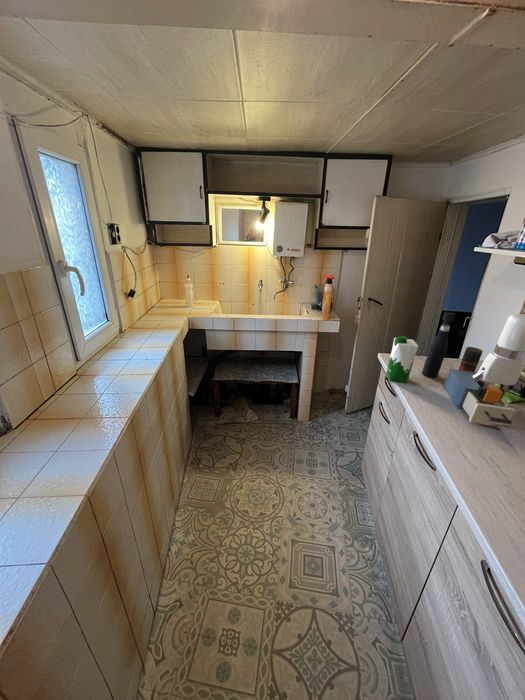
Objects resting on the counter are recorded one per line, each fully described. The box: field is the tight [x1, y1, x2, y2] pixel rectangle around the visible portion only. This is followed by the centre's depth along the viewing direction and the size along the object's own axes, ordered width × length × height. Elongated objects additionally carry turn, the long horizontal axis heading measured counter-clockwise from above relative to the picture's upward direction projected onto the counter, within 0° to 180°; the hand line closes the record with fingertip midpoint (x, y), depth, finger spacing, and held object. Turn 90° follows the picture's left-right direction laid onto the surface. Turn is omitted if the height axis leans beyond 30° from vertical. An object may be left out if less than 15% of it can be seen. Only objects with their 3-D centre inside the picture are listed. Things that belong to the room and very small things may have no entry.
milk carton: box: [385, 334, 420, 384], centre depth 122 cm, size 9×9×20 cm
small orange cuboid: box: [482, 385, 503, 403], centre depth 99 cm, size 4×4×4 cm
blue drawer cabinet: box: [443, 368, 497, 410], centre depth 111 cm, size 16×13×9 cm
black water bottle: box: [421, 311, 456, 379], centre depth 124 cm, size 6×6×30 cm
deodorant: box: [457, 346, 484, 372], centre depth 125 cm, size 6×6×15 cm
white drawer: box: [461, 390, 517, 427], centre depth 100 cm, size 19×11×7 cm, turn 167°
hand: (488, 398), depth 100 cm, fingers closed on small orange cuboid, 4 cm apart
